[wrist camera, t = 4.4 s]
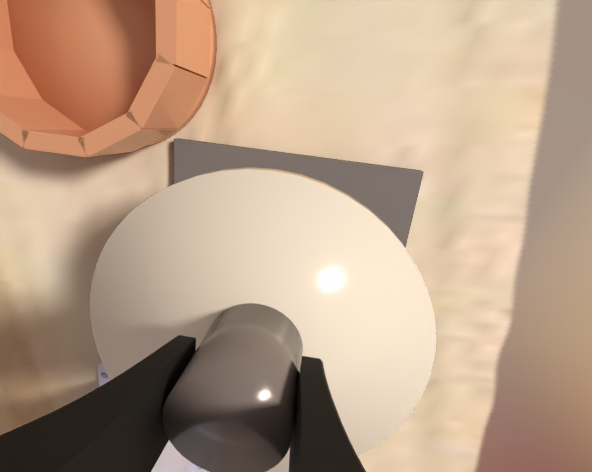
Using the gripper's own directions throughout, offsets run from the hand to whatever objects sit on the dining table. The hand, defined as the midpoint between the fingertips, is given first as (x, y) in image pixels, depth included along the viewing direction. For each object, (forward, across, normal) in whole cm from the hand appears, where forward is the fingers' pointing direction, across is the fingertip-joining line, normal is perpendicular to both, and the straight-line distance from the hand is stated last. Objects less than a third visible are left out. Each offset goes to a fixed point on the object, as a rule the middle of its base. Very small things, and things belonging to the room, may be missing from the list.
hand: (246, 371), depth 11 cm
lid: (+2, 0, 0) cm, 2 cm away
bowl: (+9, +10, -11) cm, 17 cm away
